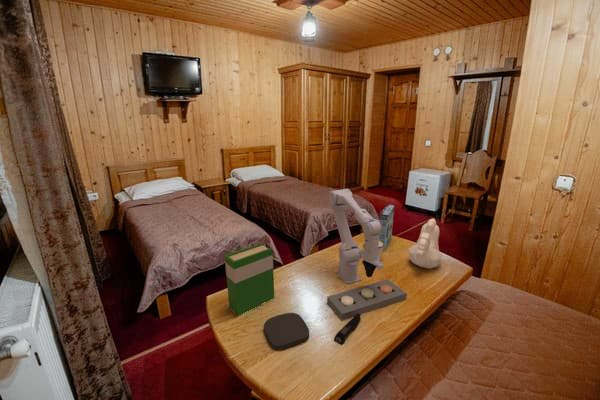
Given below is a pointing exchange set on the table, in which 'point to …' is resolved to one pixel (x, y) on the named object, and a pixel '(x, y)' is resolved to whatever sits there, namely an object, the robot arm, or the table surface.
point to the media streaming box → (286, 331)
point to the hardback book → (249, 277)
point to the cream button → (347, 300)
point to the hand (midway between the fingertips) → (369, 276)
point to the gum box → (386, 225)
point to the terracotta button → (386, 289)
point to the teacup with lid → (380, 250)
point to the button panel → (365, 305)
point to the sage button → (367, 293)
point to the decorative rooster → (426, 247)
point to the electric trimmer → (347, 329)
